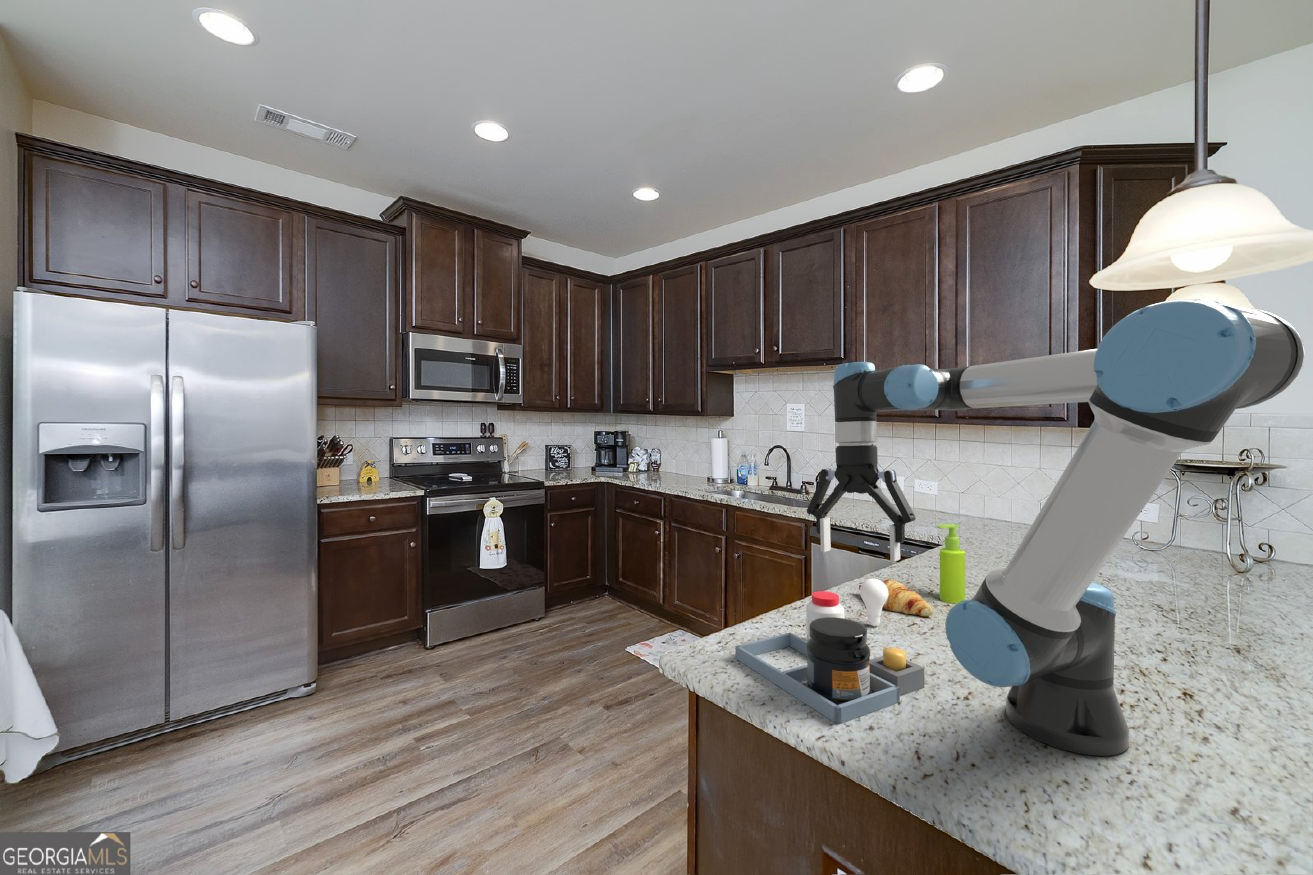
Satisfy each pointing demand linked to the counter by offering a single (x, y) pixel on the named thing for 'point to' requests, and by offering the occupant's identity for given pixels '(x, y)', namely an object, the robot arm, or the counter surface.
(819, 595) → the pill bottle
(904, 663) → the button
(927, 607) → the croissant
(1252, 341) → the robot arm
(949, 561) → the soap dispenser
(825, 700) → the frame
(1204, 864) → the counter surface
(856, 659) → the supplement container
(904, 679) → the grey egg holder
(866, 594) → the lightbulb
